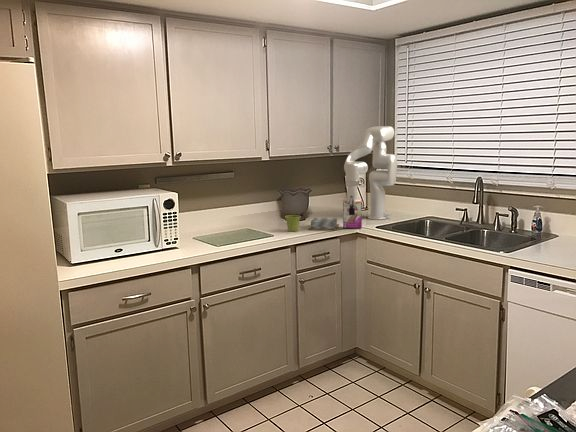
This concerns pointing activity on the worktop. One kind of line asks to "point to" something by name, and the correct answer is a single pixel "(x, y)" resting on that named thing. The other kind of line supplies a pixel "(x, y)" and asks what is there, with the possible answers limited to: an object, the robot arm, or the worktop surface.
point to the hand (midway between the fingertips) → (352, 213)
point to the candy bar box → (352, 220)
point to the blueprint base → (324, 224)
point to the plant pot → (292, 222)
